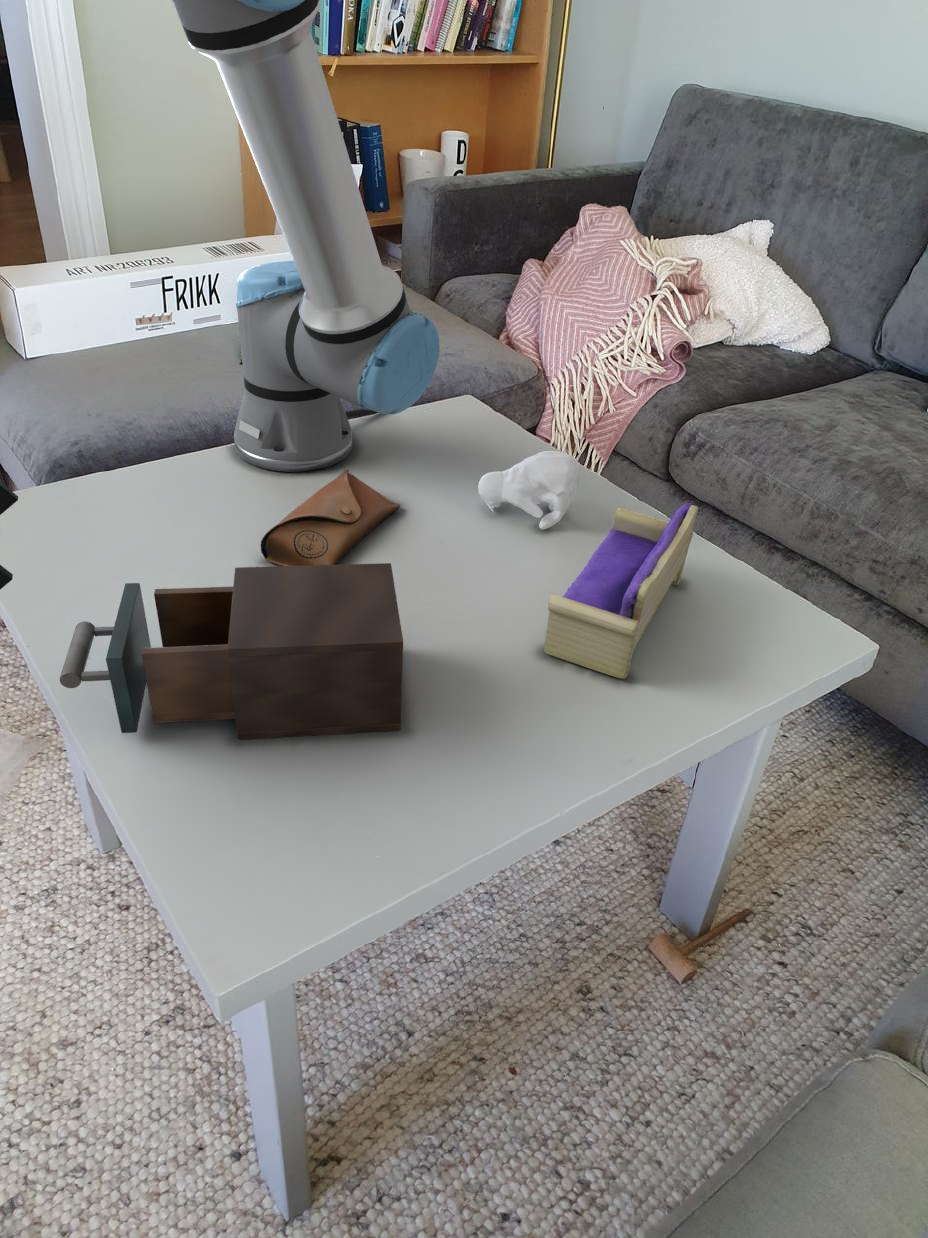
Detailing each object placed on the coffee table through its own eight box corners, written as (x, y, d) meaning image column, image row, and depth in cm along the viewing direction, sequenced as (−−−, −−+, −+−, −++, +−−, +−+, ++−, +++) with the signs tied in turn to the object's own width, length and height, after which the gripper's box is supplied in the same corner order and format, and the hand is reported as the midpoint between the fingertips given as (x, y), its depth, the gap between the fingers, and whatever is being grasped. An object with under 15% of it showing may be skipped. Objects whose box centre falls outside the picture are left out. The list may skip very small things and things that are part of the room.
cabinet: (237, 740, 76) (227, 649, 70) (243, 653, 85) (234, 567, 80) (400, 730, 78) (403, 642, 73) (389, 647, 87) (391, 562, 82)
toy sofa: (608, 557, 103) (623, 475, 97) (683, 579, 100) (703, 497, 94) (537, 657, 88) (550, 567, 82) (624, 687, 85) (643, 596, 79)
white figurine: (573, 468, 101) (469, 456, 104) (570, 535, 106) (471, 522, 109) (585, 445, 106) (486, 435, 109) (581, 511, 111) (487, 499, 114)
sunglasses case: (330, 577, 95) (299, 521, 93) (281, 590, 99) (250, 537, 97) (404, 503, 109) (379, 453, 107) (359, 517, 113) (334, 469, 111)
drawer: (65, 736, 74) (46, 661, 69) (88, 656, 82) (72, 584, 78) (277, 725, 76) (271, 651, 72) (279, 648, 85) (274, 578, 80)
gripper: (-280, 307, 64) (-26, 510, 77) (-425, 423, 45) (-52, 669, 58) (-200, 239, 64) (41, 453, 77) (-311, 325, 44) (38, 594, 57)
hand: (2, 546), depth 67 cm, fingers open, 13 cm apart
